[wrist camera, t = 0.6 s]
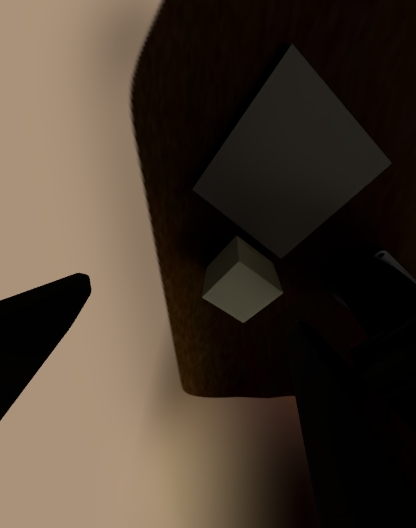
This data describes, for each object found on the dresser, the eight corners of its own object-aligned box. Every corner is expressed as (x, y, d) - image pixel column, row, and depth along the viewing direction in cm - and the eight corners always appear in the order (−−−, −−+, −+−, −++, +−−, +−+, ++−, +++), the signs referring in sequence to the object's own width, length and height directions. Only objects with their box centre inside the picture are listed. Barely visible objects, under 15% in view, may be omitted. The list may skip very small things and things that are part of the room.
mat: (387, 162, 16) (391, 163, 16) (280, 256, 21) (281, 258, 21) (290, 46, 13) (292, 43, 13) (193, 188, 18) (192, 189, 18)
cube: (272, 262, 22) (283, 292, 18) (240, 289, 24) (243, 322, 20) (236, 234, 20) (238, 261, 16) (206, 267, 23) (202, 297, 19)
